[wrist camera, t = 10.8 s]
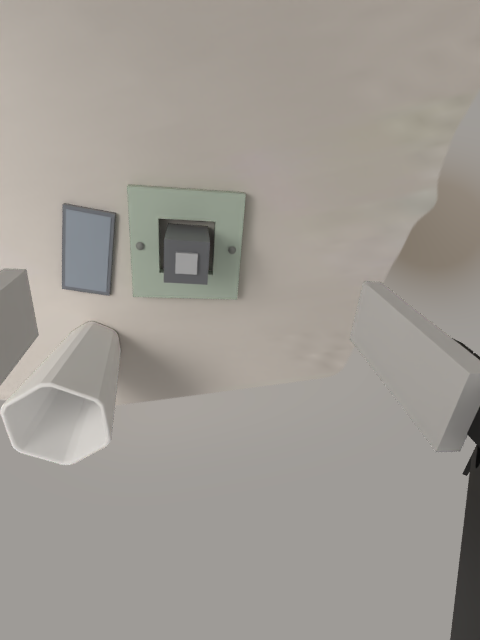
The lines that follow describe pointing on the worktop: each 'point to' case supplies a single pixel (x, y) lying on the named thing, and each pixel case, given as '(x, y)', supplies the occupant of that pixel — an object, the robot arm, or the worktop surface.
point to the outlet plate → (184, 205)
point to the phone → (87, 249)
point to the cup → (68, 399)
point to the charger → (186, 254)
